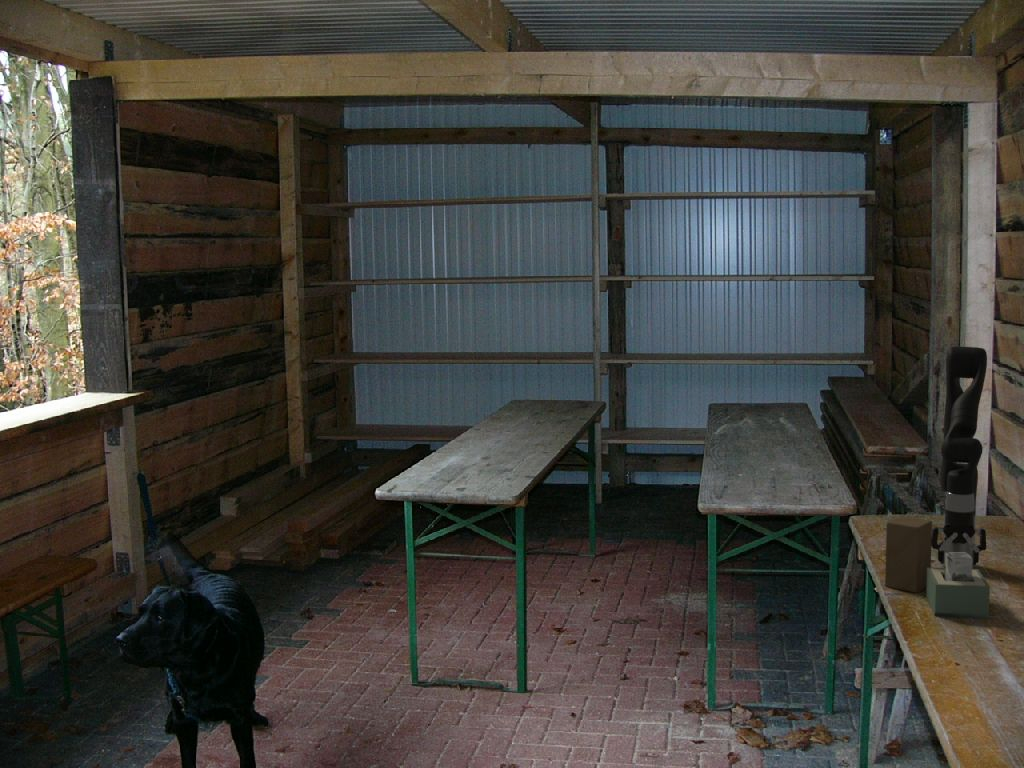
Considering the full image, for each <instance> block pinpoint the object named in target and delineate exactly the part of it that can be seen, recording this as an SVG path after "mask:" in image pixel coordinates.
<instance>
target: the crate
mask: <svg viewBox="0 0 1024 768" xmlns="http://www.w3.org/2000/svg"><path fill="white" fill-rule="evenodd" d="M944 576H945V567H932V566H931V567H927V585H926V587H925V589H926V591H925V599H926V600H927V602H928V604H929V606H930V608H931V611H932V613H933V615H934V616H935V617H946V618H948V617H951V618H968V619H970V618H972V619H989V617H990V594H991V593H990V592H991V587H990V585H989V584H988V582H987V580H986V579H985V577H984V576H983V574H982V573H981V572H980V570H979V569H978V568H973V569H972V582H965V581H945V580H944Z"/></svg>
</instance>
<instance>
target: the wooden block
mask: <svg viewBox="0 0 1024 768" xmlns="http://www.w3.org/2000/svg"><path fill="white" fill-rule="evenodd" d="M932 529H933V521H932V520H929V519H924V518H917V517H913V516H911V517H910V516H906V515H905V516H904V515H899V516H897V517H894V518H893V519H891V520H889V521H887V522H886V533H885V535H886V536H885V574H884V577H885V579H884V581H885V582H884V583H885V584H884V585H885V587H886V588H887V587H888V588H891V589H898V590H901V591H905V592H906V591H907V592H911V593H918V592H920V591H922V590H924V589H926V585H927V567H932V546H931V540H932Z"/></svg>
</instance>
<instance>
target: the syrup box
mask: <svg viewBox="0 0 1024 768" xmlns="http://www.w3.org/2000/svg"><path fill="white" fill-rule="evenodd" d="M972 564H973V559H972V557H971V556H970V555H969V554H967V553H966V552H949V553H945V567H944V568H945V576H944V580H945V581H965V582H972Z"/></svg>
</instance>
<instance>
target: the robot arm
mask: <svg viewBox="0 0 1024 768" xmlns="http://www.w3.org/2000/svg"><path fill="white" fill-rule="evenodd" d="M987 366H988V354H987V351H986V349H985V348H983V347H977V346H974V347H973V346H956V345H955V346H950V348H949V349H948V350H947V353H946V359H945V378H946V379H945V383H946V385H945V386H946V387H945V389H946V390H945V391H946V394H945V406H944V417H943V442H942V444H941V447H940V453H941V457H942V458H941V465H940V473H939V474H940V475H939V484H940V488H941V490H942V491H943V492H945V493H946V495H945V504H944V508H943V527H938V526H936V525H934V526H932V540H931V548H932V549H934V550H937V560H938V562H939V563H940V565H942V568H945V553H949V552H966V553H967V554H969V555H970V556H971V557H972V559H973V564H972V569H975V568H974V566H977V564H978V563H979V559H980V552H982V551H986V550H987V530H986V529H985V528H984V527H982V526H981V527H980V528H976V519H977V518H976V517H977V516H976V513H977V512H976V511H977V507H976V505H977V491H978V484H979V483H978V482H979V471H978V466H979V463H980V460H981V457H982V455H983V450H984V449H983V444H982V442H981V441H980V440H979V439H978V438H974V437H975V435H976V433H977V431H978V430H977V429H978V417H979V406H980V402H981V397H982V393H983V389H984V385H985V379H986V374H987ZM959 379H971V380H972V381H971V382H970V384H969V386H968V387H967V388H966V389H965V390H963V388H962V387H961V384H960V380H959ZM941 533H943V535H942V536H943V538H942V540H941V542H940V543H938V541H939V540H938V539H939V536H941ZM976 534H977V536H978V537H979V545H977V544H976V543H975V542H976V541H975V540H976Z"/></svg>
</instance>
